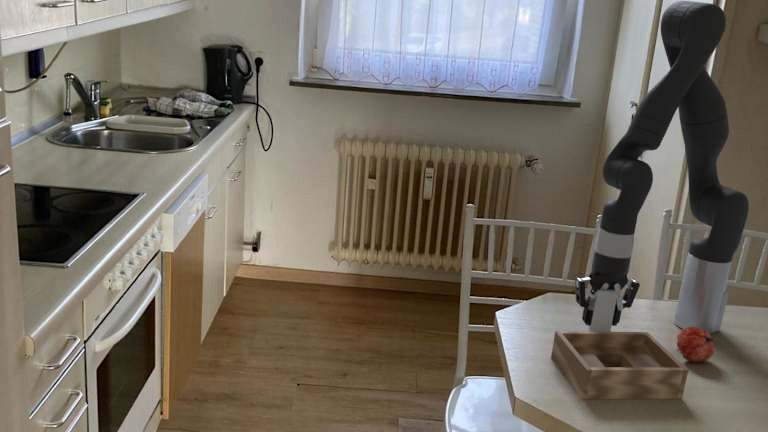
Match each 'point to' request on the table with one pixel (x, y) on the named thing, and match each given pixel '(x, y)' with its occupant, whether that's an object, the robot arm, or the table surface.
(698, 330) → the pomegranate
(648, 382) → the crate
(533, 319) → the table surface
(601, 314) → the skincare box
